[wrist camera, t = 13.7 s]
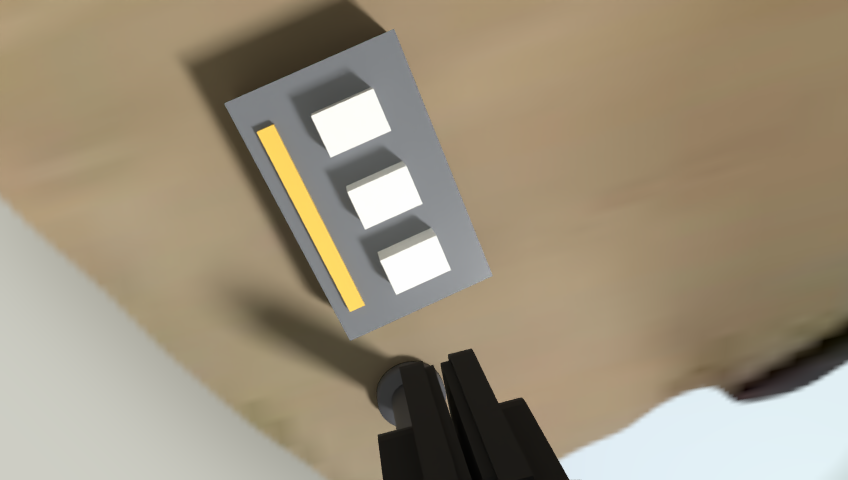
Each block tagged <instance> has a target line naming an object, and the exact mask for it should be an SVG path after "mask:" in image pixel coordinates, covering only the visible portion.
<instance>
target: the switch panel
mask: <svg viewBox="0 0 848 480" xmlns="http://www.w3.org/2000/svg"><path fill="white" fill-rule="evenodd" d="M224 104H225V106H226V108H227V110H228V112H229V114H230V116H231V118H232V119H233V121H234V123H235V125H236V127H237V129H238V131H239V133H240V135H241V136H242V138H243V140H244V142H245V144H246V146H247V148H248V150H249V151H250V153H251V155H252V157H253V159H254V161H255V163H256V165H257V167H258V168H259V170H260V172H261V174H262V176H263V178H264V180H265V182H266V183H267V185H268V187H269V189H270V191H271V193H272V195H273V197H274V199H275V200H276V202H277V204H278V206H279V208H280V210H281V212H282V214H283V215H284V217H285V219H286V221H287V223H288V225H289V227H290V229H291V231H292V232H293V234H294V236H295V238H296V240H297V242H298V244H299V246H300V248H301V249H302V251H303V253H304V255H305V257H306V259H307V261H308V263H309V264H310V266H311V268H312V270H313V272H314V274H315V276H316V278H317V280H318V281H319V283H320V285H321V287H322V289H323V291H324V293H325V295H326V296H327V298H328V300H329V302H330V304H331V306H332V308H333V310H334V312H335V313H336V315H337V317H338V319H339V321H340V323H341V325H342V327H343V328H344V330H345V332H346V334H347V336H348V338H349V340H350V341H351V340H353V339H355V338H358V337H360V336H362V335H364V334H366V333H369V332H371V331H373V330H375V329H377V328H380V327H382V326H384V325H386V324H388V323H390V322H393V321H395V320H397V319H399V318H401V317H404V316H406V315H408V314H410V313H412V312H415V311H417V310H419V309H421V308H423V307H426V306H428V305H430V304H432V303H434V302H436V301H439V300H441V299H443V298H445V297H447V296H450V295H452V294H454V293H456V292H458V291H461V290H463V289H465V288H467V287H469V286H471V285H474V284H476V283H478V282H480V281H482V280H485V279H487V278H489V277H491V276H493V275H492V273H491V270H490V268H489V265H488V263H487V260H486V258H485V255H484V253H483V250H482V248H481V245H480V243H479V240H478V238H477V235H476V233H475V230H474V228H473V225H472V223H471V220H470V218H469V215H468V213H467V210H466V208H465V205H464V203H463V200H462V198H461V195H460V193H459V190H458V188H457V185H456V183H455V180H454V178H453V175H452V173H451V170H450V168H449V165H448V163H447V160H446V158H445V155H444V153H443V150H442V148H441V145H440V143H439V140H438V138H437V135H436V133H435V130H434V128H433V125H432V123H431V120H430V118H429V115H428V113H427V110H426V108H425V105H424V103H423V100H422V98H421V95H420V93H419V90H418V88H417V85H416V83H415V80H414V78H413V75H412V73H411V70H410V68H409V65H408V63H407V60H406V58H405V55H404V53H403V50H402V48H401V45H400V43H399V40H398V38H397V35H396V33H395V30H394V29H393V30H390V31H388V32H386V33H383V34H381V35H379V36H377V37H374V38H372V39H370V40H367V41H365V42H363V43H361V44H358V45H356V46H354V47H352V48H349V49H347V50H345V51H342V52H340V53H338V54H336V55H333V56H331V57H329V58H326V59H324V60H322V61H320V62H317V63H315V64H313V65H311V66H308V67H306V68H304V69H301V70H299V71H297V72H295V73H292V74H290V75H288V76H285V77H283V78H281V79H279V80H276V81H274V82H272V83H269V84H267V85H265V86H263V87H260V88H258V89H256V90H254V91H251V92H249V93H247V94H244V95H242V96H240V97H238V98H235V99H233V100H231V101H228V102H226V103H224Z"/></svg>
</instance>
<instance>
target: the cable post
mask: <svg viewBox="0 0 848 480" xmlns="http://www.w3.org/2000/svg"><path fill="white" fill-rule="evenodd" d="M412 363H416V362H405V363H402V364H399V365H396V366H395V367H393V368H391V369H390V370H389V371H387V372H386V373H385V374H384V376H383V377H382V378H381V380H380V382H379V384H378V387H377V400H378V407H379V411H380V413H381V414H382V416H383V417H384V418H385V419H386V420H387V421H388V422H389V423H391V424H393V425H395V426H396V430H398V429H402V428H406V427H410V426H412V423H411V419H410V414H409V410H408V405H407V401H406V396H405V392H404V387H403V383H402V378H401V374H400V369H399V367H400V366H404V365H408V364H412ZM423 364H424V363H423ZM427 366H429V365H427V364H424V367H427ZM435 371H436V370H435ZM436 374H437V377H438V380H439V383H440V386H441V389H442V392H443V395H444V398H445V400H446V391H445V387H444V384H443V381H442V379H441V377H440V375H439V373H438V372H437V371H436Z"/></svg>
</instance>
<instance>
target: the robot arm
mask: <svg viewBox="0 0 848 480" xmlns="http://www.w3.org/2000/svg"><path fill="white" fill-rule="evenodd" d="M448 359H449V361H447V362H443V363H441V370H442V375H443V380H444V385H445V390H446V395H447V400H448V405H449V410H450V413H449V410H448V407H447V404H446V401H445V398H444V395H443V392H442V389H441V386H440V383H439V380H438V377H437V374H436V371H435V368H434V366H433V365H431V366H427V367H424V364H423V361H420V362H416V363H412V364H408V365H404V366H400V367H399V369H400V374H401V378H402V383H403V387H404V392H405V396H406V401H407V405H408V410H409V414H410V419H411V423H412V426H410V427H406V428H402V429H398V430H394V431H391V432H387V433H383V434H379V435H378V443H379V451H380V459H381V467H382V475H383V480H569V478H568V477H567V475H566V473H565V471H564V469H563V468H562V466H561V464H560V462H559V461H558V459H557V457H556V455H555V453H554V452H553V450H552V448H551V446H550V445H549V443H548V441H547V439H546V437H545V436H544V434H543V432H542V430H541V429H540V427H539V425H538V423H537V421H536V420H535V418H534V416H533V414H532V413H531V411H530V409H529V407H528V405H527V404H526V402H525V401H524V399H523V398H517V399H513V400H509V401H506V402H502V403H498V401H497V399H496V397H495V395H494V393H493V391H492V389H491V387H490V385H489V383H488V381H487V379H486V376H485V374H484V372H483V370H482V368H481V366H480V364H479V362H478V360H477V358H476V356H475V354H474V352H473V350H472V349H468V350H464V351H460V352H456V353H452V354H448ZM450 415H451V416H450Z"/></svg>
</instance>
